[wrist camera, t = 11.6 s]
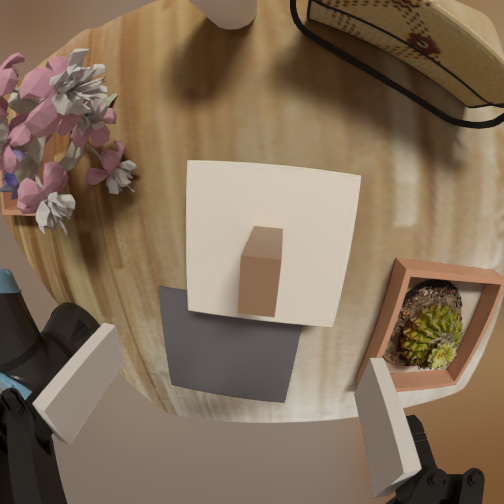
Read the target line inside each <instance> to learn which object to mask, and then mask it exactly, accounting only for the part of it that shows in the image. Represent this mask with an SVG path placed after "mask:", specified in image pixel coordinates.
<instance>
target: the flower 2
mask: <svg viewBox="0 0 504 504" xmlns="http://www.w3.org/2000/svg"><path fill="white" fill-rule="evenodd" d="M89 50H90V49H75V50H74V51H73V52H72V53H71V54H70V55H69V58H68V57H62V56H57V57H55V58H53V59H51V60H48V62H47V64H46V67H47V68H38V67H37V68H35V69H34V70H32V71H31V72H29V73H28V74H26V75H25V78H24V80H23V82H22V85H21V86H20V87H19V88H18V89H14V88H15V87H16V85H17V84H18V75H19V74H18V70H17V69H16V68H14V67H13V66H12V65H13V64H16V63H20V62H24V61H25V58H24V57H23V56H22V55H21V54H20V53H16V54H14V55H11V56H10V57H9V58H8V59H7V60H6V61H5V62H4V63H3V65H2V66H1V67H0V170H1V171H2V172H4V173H5V172H6V173H9V174H12V173H14V172H15V176H16V178H17V180H18V182H19V183H20V186H19V188H18V191H17V192H18V199H19V200H17V207H18V209H19V210H20V212H21V213H22V214H32V213H36V221H37V223H38V226H39V228H40V230H41V231H42V232H43V233H44V234H45V226H48V227H49V228H50V229H51V232H52V230H53V228H54V230H55V227H56V223H57V222H58V223H59V224H60V226H61V229H63V230H64V232H65V234H66V235H67V230H66V229H65V227H64V225H63V223H62V219H63V217H62V216H67V218H68V219H70V218H69V217H70V216H71V214H72V212H73V210H72V209H75V200H74V199H73V197H72V195H60V194H61V193H62V191H63V190H64V189H65V187H66V185H67V182H68V179H69V178H68V175H67V172H66V171H68V170H72V169H73V168H74V167H75V165H76V164H77V163H78V162H79V160H80V159H81V158H82V157H83V155H84V147H85V145H86V144H87V145H88V146H89V148H90V149H91V150H92V151H93V152H94V153H95V154H96V155H97V156H98V157H99V159H100V160H101V166H102V168H104V169H105V170H102V169H96V168H89V169H87V173H86V182H88V183H90V184H92V185H95V184H98V183H100V182H101V181H103V180H104V179H105V178H107V181H106V186H108V187H109V193H112V194H118V191H119V193H120V190H121V192H122V189H121V187H125V186H128V187H129V186H130V185H129V183H131V182H132V181H130V180H128V179H127V178H130V179H132V178H133V177H131V174H130V173H131V171H132V170H138V168H137V166H136V164H134V163H133V162H131V161H130V160H127V161H124V162H120V160H121V158H122V155H123V153H124V150H125V148H126V147H125V146H124V144H123V143H122V142H121V141H114V143H115V146H116V148H117V152H115V150H103V151H102V153H101V155H100V154H99V153H98V152H97V151H96V150H95V149H94V148H93V146H92V145H91V144H90V142H89V141H88V138H89V136H90V138H91V140H92V141H93V143H94V145H95V146H96V147H100V146H102V145H103V144H104V143H106V142H107V141H109V136H110V131H109V129H108V128H107V127H106V126H105V123H108V124H116V113H115V112H114V110H113V108H109V106H110V104H111V102H112V100H113V99H114V98H115V97H116V96H117V95H118V94H117V93H116V94H113V95H111V96H107V95H106V94H104V93H106V92H107V87H105V86H102V85H101V84H102V83H103V82H106V81H104V77H105V75H104V76H103V77H102V78H99V79H96V80H94V81H91V80H92V79H93V78H94V77H95V76H97V75H100V74H102V73H104V71H105V67H104V65H103V64H95V65H94V63H93V64H92V66H91V67H87V68H82V67H83V62H84V58H85V56H86V54H87V53H88V51H89ZM100 81H103V82H100ZM12 92H13V94H12V95H11V97H10V99H9V101H8V102H7V101H6V100H5V99H4V97H3V96H4V95H7V94H9V93H12ZM8 105H9V107H10V108H11V109H12V110H14V111H15V112H16V113H18V114H20V115H18V116H16V117H15V118H13V119H12V120H11V122H10V124H9V125H8V119H7V118H6V116H7V115H8V114H9V113H7V112H6V111H7V108H8ZM70 131H73V132H72V134H71V136H70V138H71V140H72V142H71V145H70V147H69V149H68V151H67V154H66V156H65V157H64V158H63V159H62V161H61V162H60V163H58V162H48V163H45V166H44V172H43V178H44V185H43V184H41V182H40V178H39V174H38V170H39V167H41V166H43V165H42V162H41V161H42V158H43V153H44V147H45V144H46V143H47V142H48V141H49V140H50V139H51V138H52V136H53V135H54V134H55V133H56V132H58V133H59V134H60V135H61V136H64V135H66V134H67V133H69V132H70ZM22 145H23V146H24V147H23V146H22ZM12 148H15V149H19V150H23V151H27V153H28V154H27V155H26V156H25V157H24V158H23V159H22V161H21V162H20V161H19V160H18V159H17V157H16V156H15V154H14V153H13V151H12V150H11V149H12ZM34 178H35V179H36V182H37V183H36V182H34V181H33V180H34ZM120 186H121V187H120ZM119 188H120V189H119ZM129 188H130V187H129ZM130 190H131V191H132V192H133V193H134V190H132V189H131V188H130ZM71 220H72V219H71ZM56 230H57V228H56Z"/></svg>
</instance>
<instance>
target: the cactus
mask: <svg viewBox="0 0 504 504" xmlns="http://www.w3.org/2000/svg"><path fill="white" fill-rule="evenodd" d="M423 286H424V287H431V286H433V287H432V288H426V290H428V294H427V295H425V296H424V293H425V292H424V293H423V291H421V292H420V293H419V290H420V289H422V288H424V287H423ZM418 289H419V290H418ZM452 289H453V290H452ZM431 290H433V292H432V294H431V295H430V291H431ZM451 291H452V292H451ZM451 294H454V295H452V296H451ZM449 295H450V296H449ZM461 307H462V302H461V296H460V294H459V292H458V290H457V288H456V287H455V286H454V285H453V284H452V283H450V282H448V281H445V280H440V279H436V280H430V281H428V282H425V283H420V284H419V285H418V286H417V287H415V288H414V289H412V290H411V291H409V293H408V294H406V295H405V297H404V300H403V303H402V306H401V309H400V312H399V315H398V318H397V321H396V324H395V326H394V329H393V332H392V334H391V337H390V339H389V342H388V344H387V347H386V349H385V352H384V354H383V356H384V358H385V359H386V360H387V361H389V362H390V363H392V364H395V365H400V366H401V365H403V366H406V365H407V366H409V365H411V366H416V365H418V368H419V366H420V368H422V367H423V369H425V368H426V367H427V368H428V367H429V368H430V369H431V368H433V367H434V370H435V371H437V368H439V367H440V368H441V369H443V368H444V367H445V366H447V364H450V363H451V361H453V360H454V357H455V356H456V355H457V353H456V351H455V350H456V349H457V346H458V344H459V343H460V339H461V336H462V335H461V334H462V333H463V332H462V331H464V330H465V329H464V330H462V323H461V320H462V317H461ZM457 352H458V351H457ZM420 368H419V369H420ZM427 368H426V369H427Z"/></svg>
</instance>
